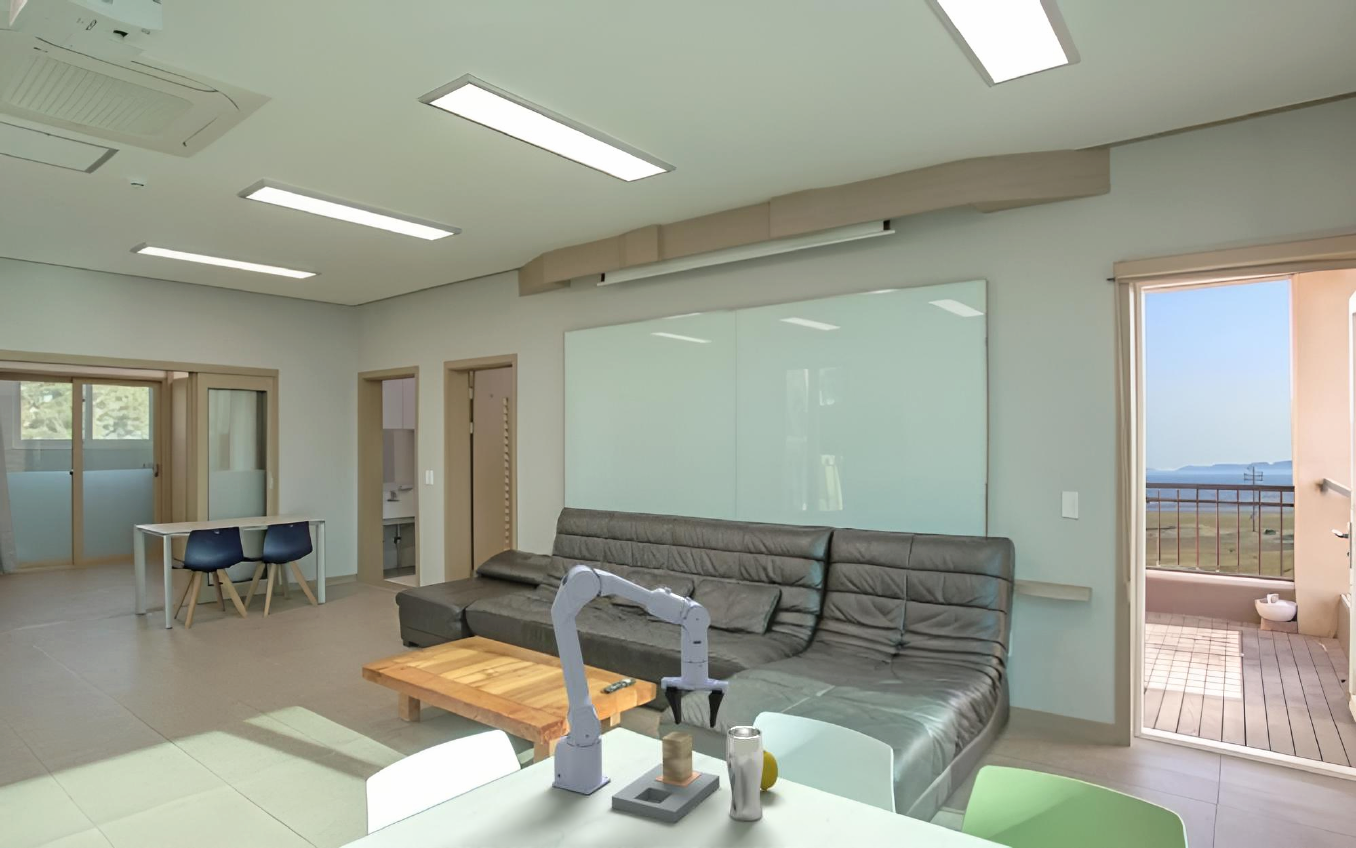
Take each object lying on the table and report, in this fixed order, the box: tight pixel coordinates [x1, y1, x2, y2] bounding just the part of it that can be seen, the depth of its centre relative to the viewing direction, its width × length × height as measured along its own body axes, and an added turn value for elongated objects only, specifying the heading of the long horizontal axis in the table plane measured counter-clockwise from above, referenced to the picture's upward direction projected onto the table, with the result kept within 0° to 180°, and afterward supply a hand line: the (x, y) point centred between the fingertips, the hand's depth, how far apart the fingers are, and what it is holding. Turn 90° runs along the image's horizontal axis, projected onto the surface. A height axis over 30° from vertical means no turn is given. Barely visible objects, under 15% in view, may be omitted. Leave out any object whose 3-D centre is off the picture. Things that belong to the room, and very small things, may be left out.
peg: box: [661, 731, 694, 783], centre depth 153 cm, size 4×4×8 cm
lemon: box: [760, 749, 779, 792], centre depth 151 cm, size 6×6×8 cm
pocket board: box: [611, 762, 721, 824], centre depth 149 cm, size 14×18×2 cm
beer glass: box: [725, 725, 764, 823], centre depth 141 cm, size 7×7×15 cm
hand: (695, 724), depth 161 cm, fingers open, 7 cm apart
